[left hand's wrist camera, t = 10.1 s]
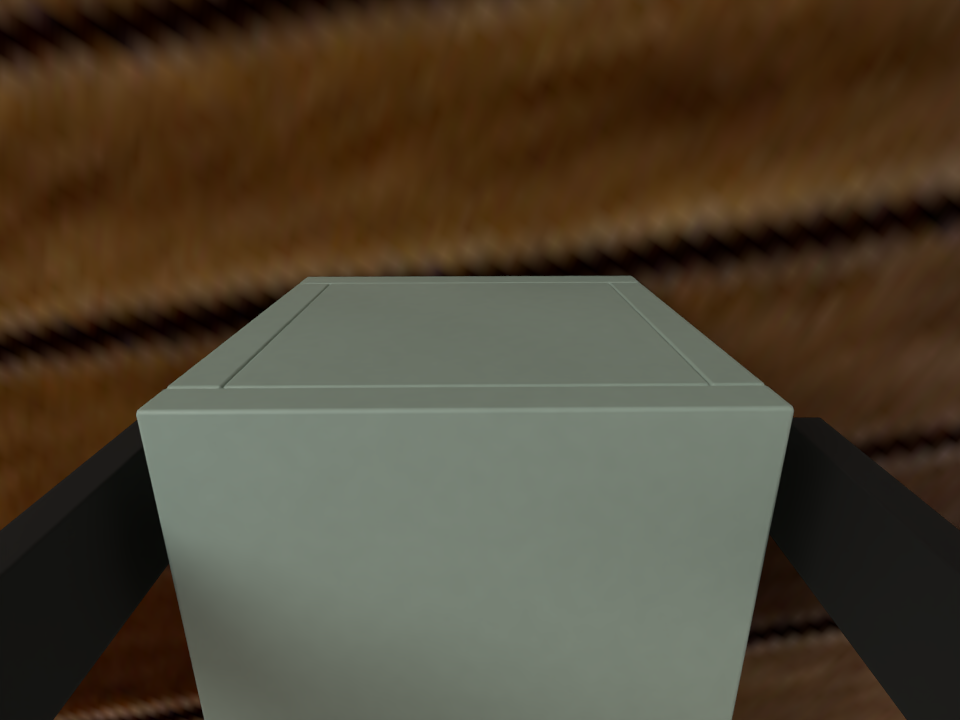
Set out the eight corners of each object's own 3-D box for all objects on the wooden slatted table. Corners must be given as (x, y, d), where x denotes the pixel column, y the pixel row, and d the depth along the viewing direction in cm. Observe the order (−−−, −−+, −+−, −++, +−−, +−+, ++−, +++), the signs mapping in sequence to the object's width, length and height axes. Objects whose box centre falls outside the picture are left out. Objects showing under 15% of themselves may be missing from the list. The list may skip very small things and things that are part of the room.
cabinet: (596, 678, 24) (673, 1012, 15) (348, 680, 24) (269, 1019, 15) (632, 275, 19) (797, 407, 9) (307, 276, 18) (133, 410, 9)
